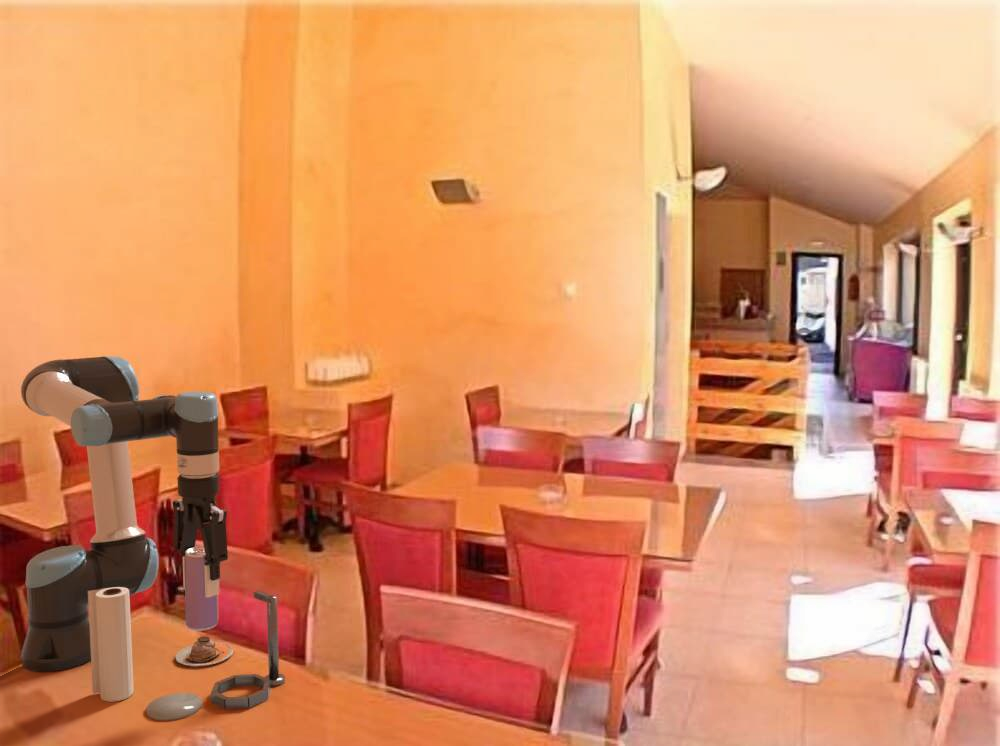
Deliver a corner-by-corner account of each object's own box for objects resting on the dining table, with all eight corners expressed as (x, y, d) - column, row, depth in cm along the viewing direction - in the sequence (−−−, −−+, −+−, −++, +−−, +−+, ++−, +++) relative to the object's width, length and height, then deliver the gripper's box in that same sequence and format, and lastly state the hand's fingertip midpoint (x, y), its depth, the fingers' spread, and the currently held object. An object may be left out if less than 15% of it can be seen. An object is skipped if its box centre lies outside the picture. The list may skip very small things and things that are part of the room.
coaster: (135, 710, 174) (135, 706, 174) (182, 691, 182) (182, 688, 182) (165, 726, 168) (165, 722, 168) (212, 705, 176) (212, 702, 176)
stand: (201, 698, 179) (198, 609, 177) (266, 671, 192) (263, 588, 190) (235, 714, 173) (232, 623, 171) (299, 685, 185) (297, 599, 183)
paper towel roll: (139, 695, 180) (134, 590, 178) (108, 705, 176) (103, 598, 174) (122, 684, 185) (118, 582, 183) (92, 694, 181) (87, 589, 179)
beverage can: (209, 632, 173) (207, 556, 171) (180, 630, 174) (178, 554, 172) (224, 620, 179) (222, 546, 177) (195, 618, 180) (193, 544, 178)
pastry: (163, 661, 197) (163, 641, 197) (209, 643, 207) (209, 623, 207) (199, 675, 190) (198, 654, 190) (244, 655, 200) (244, 635, 200)
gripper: (151, 470, 175) (154, 586, 178) (213, 485, 164) (216, 608, 167) (184, 463, 181) (188, 575, 184) (246, 477, 170) (249, 597, 173)
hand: (201, 591), depth 176 cm, fingers closed on beverage can, 6 cm apart
